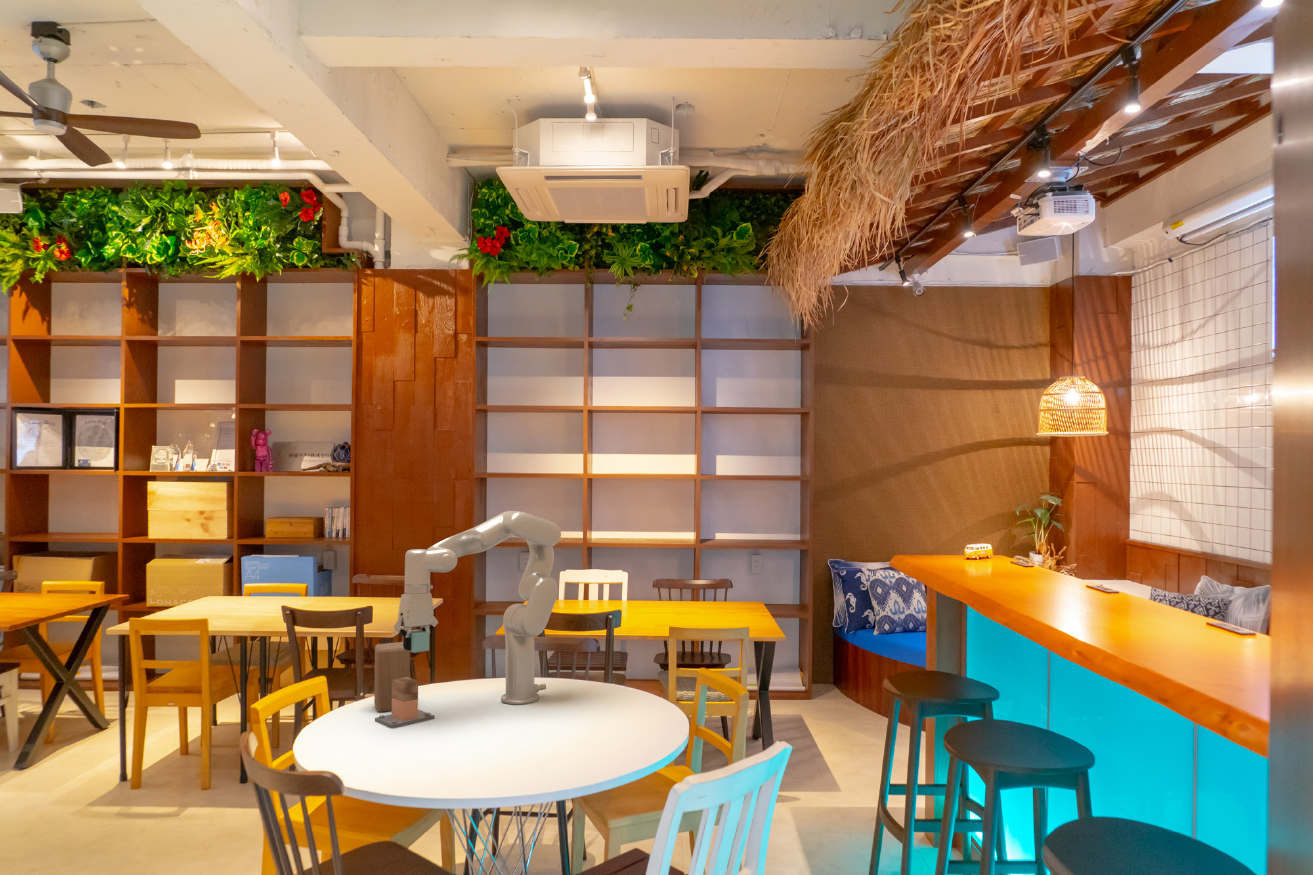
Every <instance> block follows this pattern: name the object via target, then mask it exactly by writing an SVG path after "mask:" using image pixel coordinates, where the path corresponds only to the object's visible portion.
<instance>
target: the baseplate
mask: <svg viewBox="0 0 1313 875" xmlns="http://www.w3.org/2000/svg"><path fill="white" fill-rule="evenodd" d="M430 720H435V715H434V714H432V713H431V712H426V711H424V710H421V709H419V698H418V699H415V700H411V701H406V702H401V701H399V700H396V699H393V698H392V711H391V713H390V714H387V715H384V714H380V715H378V716H377V717H374V722H375V723H378V724H379V725H383V726H384V727H387V728H390V729H396V728H401V727H404V726H405V727H406V726H410V725H413V724H418V723H421V722H426V721H430Z"/></svg>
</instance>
